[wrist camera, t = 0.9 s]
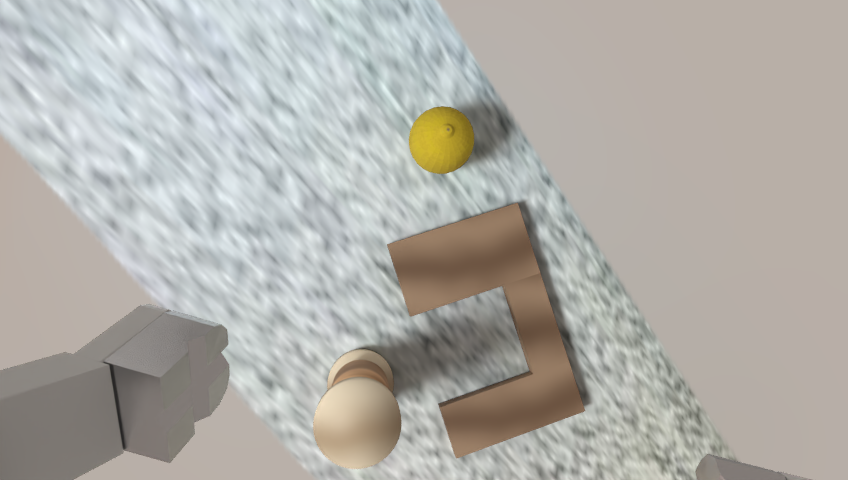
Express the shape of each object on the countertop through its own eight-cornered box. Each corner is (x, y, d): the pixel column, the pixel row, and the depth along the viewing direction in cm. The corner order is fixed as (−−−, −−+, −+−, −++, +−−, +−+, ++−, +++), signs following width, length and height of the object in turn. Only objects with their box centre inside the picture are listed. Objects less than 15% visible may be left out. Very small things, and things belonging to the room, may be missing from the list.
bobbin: (320, 361, 49) (301, 397, 36) (381, 340, 50) (385, 368, 37) (339, 422, 49) (328, 481, 36) (401, 401, 50) (412, 451, 37)
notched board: (386, 244, 50) (387, 244, 49) (514, 204, 52) (517, 202, 50) (454, 453, 50) (456, 458, 49) (580, 407, 52) (585, 411, 50)
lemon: (472, 170, 51) (491, 153, 43) (415, 186, 51) (424, 173, 43) (455, 113, 51) (471, 86, 44) (398, 129, 51) (403, 105, 43)
